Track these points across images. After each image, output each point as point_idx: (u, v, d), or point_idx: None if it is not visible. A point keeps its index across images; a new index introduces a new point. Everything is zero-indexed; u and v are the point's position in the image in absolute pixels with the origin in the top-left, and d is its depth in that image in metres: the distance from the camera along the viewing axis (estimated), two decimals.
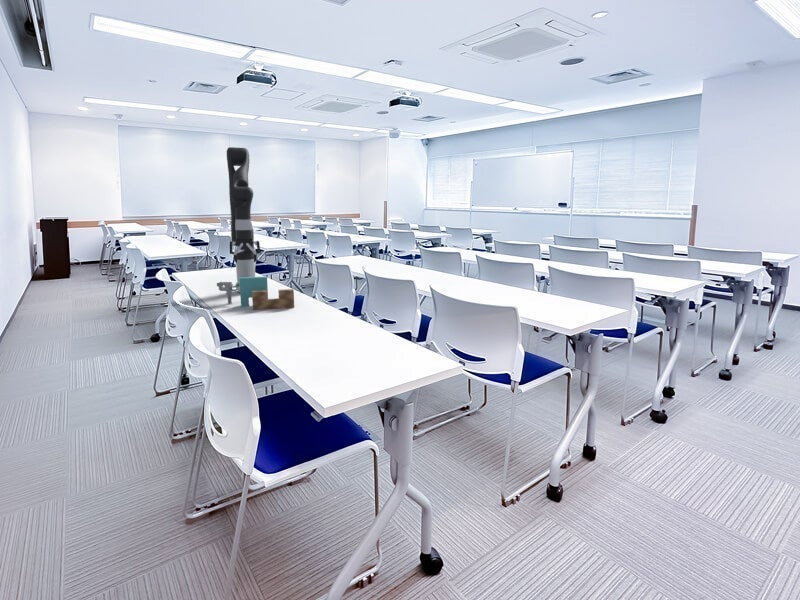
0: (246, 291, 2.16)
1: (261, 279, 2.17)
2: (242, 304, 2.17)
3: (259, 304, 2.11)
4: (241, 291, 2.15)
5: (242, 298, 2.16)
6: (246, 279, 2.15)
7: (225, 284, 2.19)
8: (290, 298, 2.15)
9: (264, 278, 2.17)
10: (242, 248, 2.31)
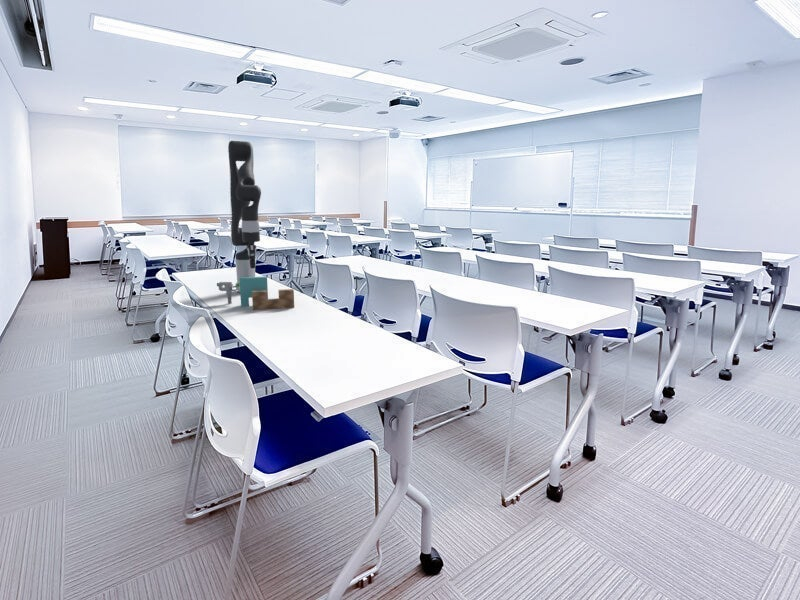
0: (246, 291, 2.16)
1: (261, 279, 2.17)
2: (242, 304, 2.17)
3: (259, 304, 2.11)
4: (241, 291, 2.15)
5: (242, 298, 2.16)
6: (246, 279, 2.15)
7: (225, 284, 2.19)
8: (290, 298, 2.15)
9: (264, 278, 2.17)
10: None
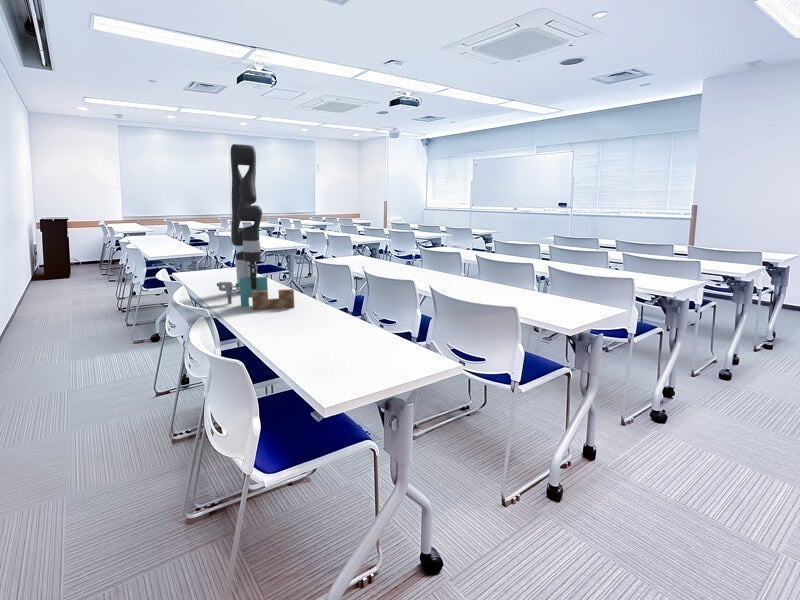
0: (246, 291, 2.16)
1: (261, 279, 2.17)
2: (242, 304, 2.17)
3: (259, 304, 2.11)
4: (241, 291, 2.15)
5: (242, 298, 2.16)
6: (246, 279, 2.15)
7: (225, 284, 2.19)
8: (290, 298, 2.15)
9: (264, 278, 2.17)
10: None
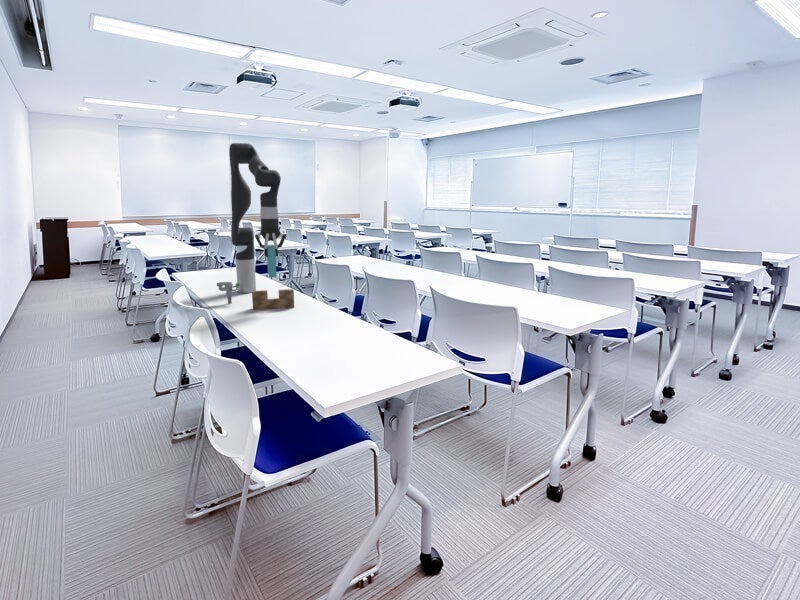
0: None
1: None
2: None
3: (259, 304, 2.11)
4: (275, 261, 2.06)
5: None
6: (274, 247, 2.07)
7: (225, 284, 2.19)
8: (290, 298, 2.15)
9: (273, 245, 2.14)
10: None
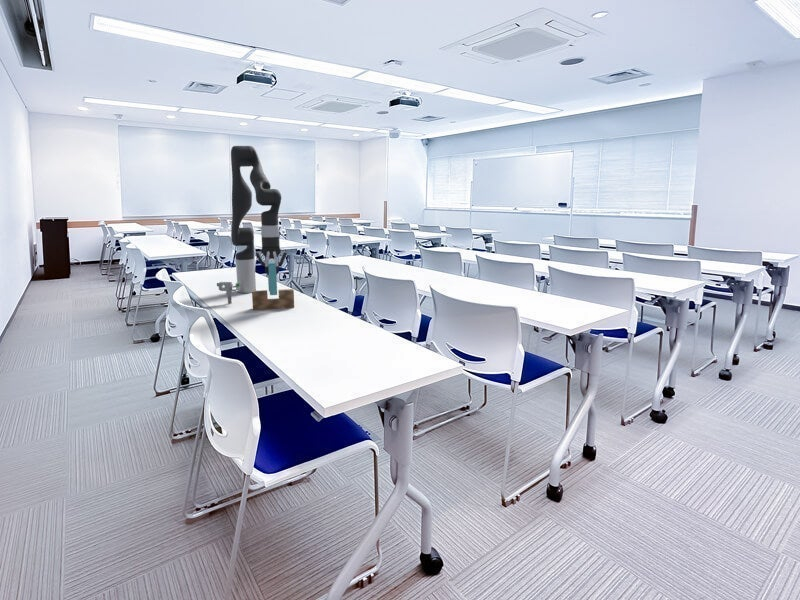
0: None
1: None
2: None
3: (259, 304, 2.11)
4: (276, 278, 2.07)
5: (276, 286, 2.08)
6: (275, 265, 2.08)
7: (225, 284, 2.19)
8: (290, 298, 2.15)
9: (274, 263, 2.16)
10: None
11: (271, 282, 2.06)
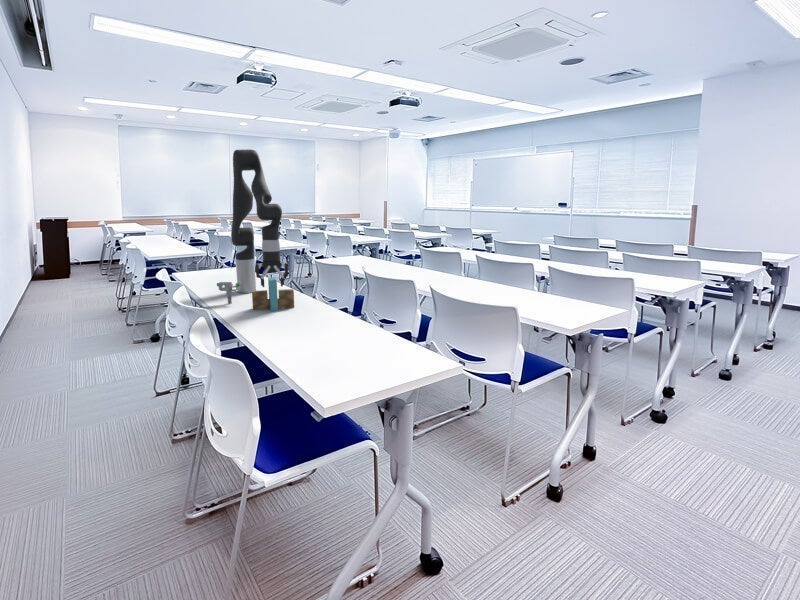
0: None
1: None
2: (277, 308, 2.10)
3: (259, 304, 2.11)
4: None
5: (277, 302, 2.10)
6: None
7: (225, 284, 2.19)
8: (290, 298, 2.15)
9: (274, 278, 2.17)
10: None
11: (272, 298, 2.08)
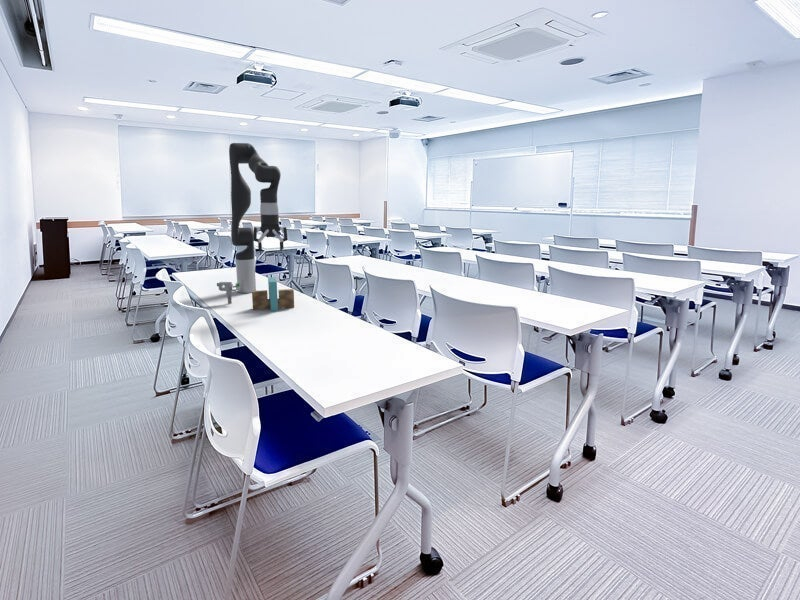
0: None
1: None
2: (277, 308, 2.10)
3: (259, 304, 2.11)
4: None
5: (277, 302, 2.10)
6: None
7: (225, 284, 2.19)
8: (290, 298, 2.15)
9: (274, 278, 2.17)
10: None
11: (272, 298, 2.08)
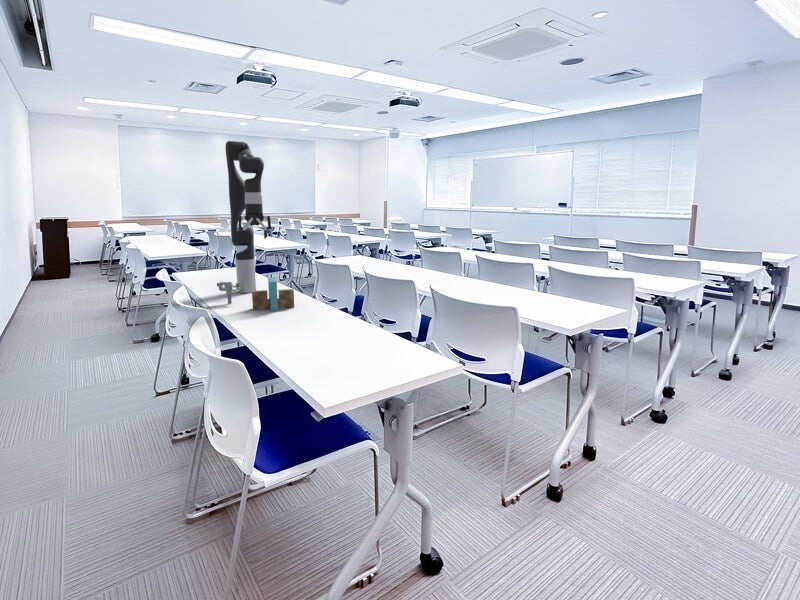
0: None
1: None
2: (277, 308, 2.10)
3: (259, 304, 2.11)
4: None
5: (277, 302, 2.10)
6: None
7: (225, 284, 2.19)
8: (290, 298, 2.15)
9: (274, 278, 2.17)
10: None
11: (272, 298, 2.08)
